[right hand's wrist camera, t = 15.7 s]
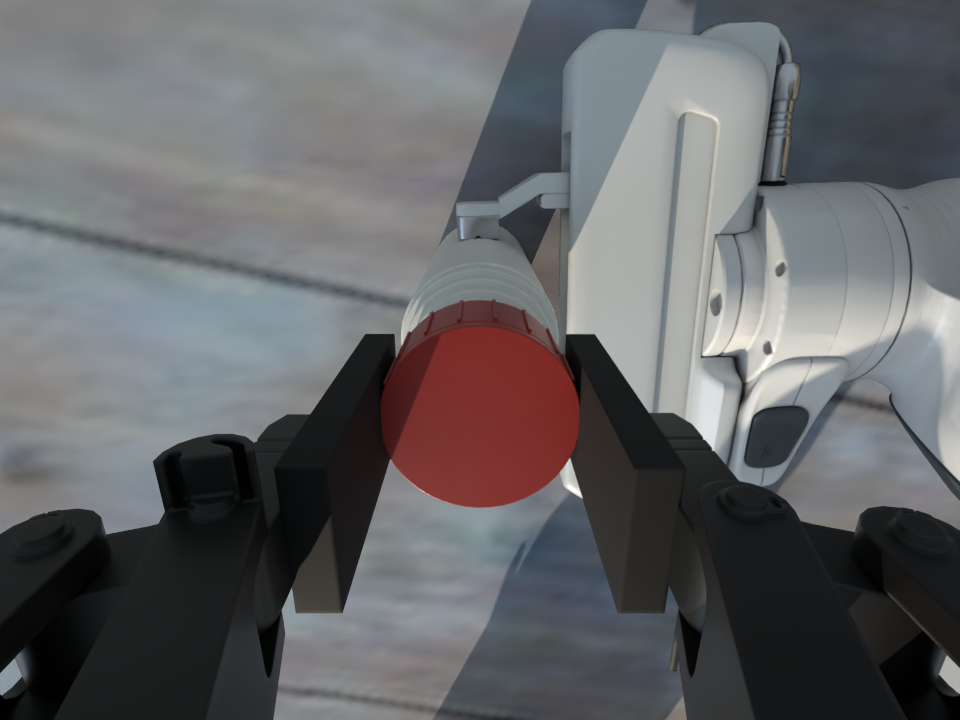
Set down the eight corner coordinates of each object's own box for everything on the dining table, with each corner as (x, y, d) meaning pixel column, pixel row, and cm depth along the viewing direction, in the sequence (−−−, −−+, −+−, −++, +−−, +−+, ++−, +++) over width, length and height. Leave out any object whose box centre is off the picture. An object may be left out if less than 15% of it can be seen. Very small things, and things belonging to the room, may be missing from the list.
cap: (589, 426, 15) (609, 473, 12) (433, 479, 15) (425, 533, 13) (533, 270, 13) (544, 291, 11) (363, 336, 14) (340, 369, 11)
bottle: (463, 329, 31) (442, 540, 14) (416, 251, 30) (322, 375, 12) (542, 285, 30) (629, 450, 13) (497, 203, 29) (525, 259, 11)
